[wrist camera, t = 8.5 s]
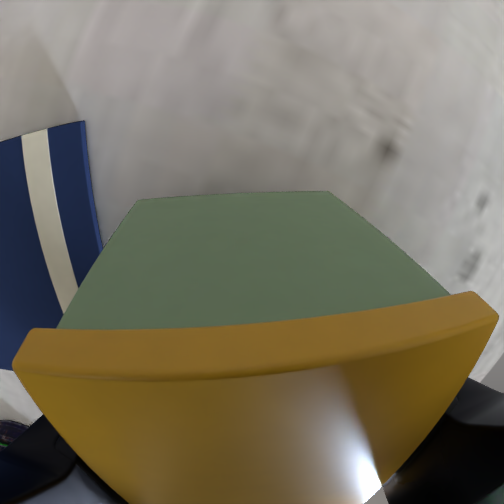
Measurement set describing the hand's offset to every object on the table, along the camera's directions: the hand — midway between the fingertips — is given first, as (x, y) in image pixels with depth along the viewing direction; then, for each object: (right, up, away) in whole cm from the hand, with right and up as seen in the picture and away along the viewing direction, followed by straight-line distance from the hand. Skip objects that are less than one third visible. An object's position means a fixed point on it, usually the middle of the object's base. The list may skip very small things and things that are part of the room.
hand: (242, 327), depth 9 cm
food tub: (0, +1, +1) cm, 1 cm away
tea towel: (-16, +1, +1) cm, 16 cm away
